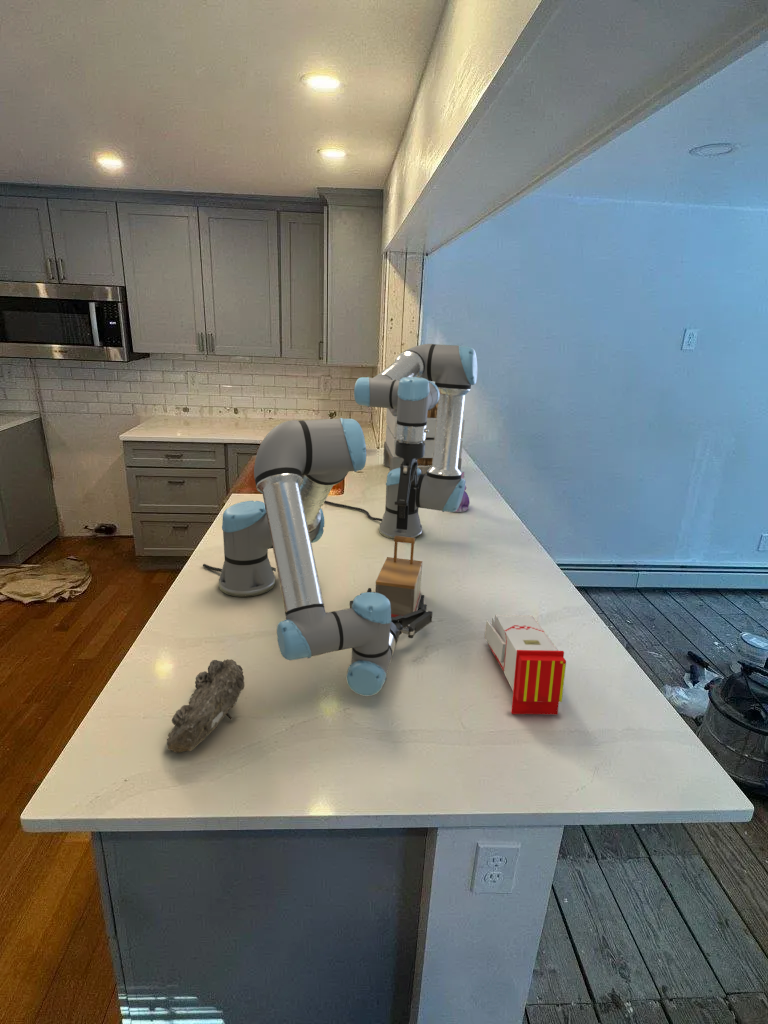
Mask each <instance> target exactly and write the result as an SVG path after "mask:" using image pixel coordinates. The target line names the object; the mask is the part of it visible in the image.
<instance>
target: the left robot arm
mask: <svg viewBox="0 0 768 1024" xmlns="http://www.w3.org/2000/svg"><path fill="white" fill-rule="evenodd" d="M366 462H367V445H366V438H365V434H364V431H363V429H362V426H361V424H360V423H359V422H358V421H357V420H356V419H354V418H343V417H339V418H325V419H324V418H323V419H303V420H298V419H292V420H286V421H283V422H280V423H278V424H277V425H276V426H274V427H273V428H272V429H271V430H269V431H268V433H267V434H266V435H265V436H264V438H263V439H262V441H261V443H260V444H259V447H258V449H257V452H256V455H255V460H254V466H253V476H254V477H253V478H254V481H255V482H254V483H255V488H256V491H257V492H259V493H261V494H262V497H263V498H262V499H263V501H262V500H261V501H260V500H245V501H241V502H236V503H234V504H232V505H230V506H229V507H227V508H226V509H224V512H223V513H222V523H221V524H222V525H221V529H222V538H223V539H222V540H223V556H224V562H223V563H222V567H221V568H219V567H215V566H212V565H208V564H206V563H203V564H202V567H203V568H206V569H208V570H210V571H215V572H220V575H219V578H218V588H219V589H220V591H221V592H222V593H224V594H225V595H228V596H232V597H236V598H237V597H239V598H249V597H250V598H251V597H254V596H260V595H263V594H265V593H267V592H269V591H271V590H273V588H274V587H275V585H276V576H275V573H274V572H277V576H278V582H279V583H278V584H279V588H280V592H281V598H282V603H283V609H284V615H285V619H284V620H281V621H279V622H278V623H277V625H276V635H277V645H278V648H279V652H280V654H281V656H282V658H283V659H285V660H286V661H295V660H301V659H306V658H307V659H311V658H312V657H316V656H320V655H326V654H329V653H333V652H338V651H339V652H340V651H343V650H349V649H351V661H350V664H349V666H348V667H347V673H346V682H347V686H348V687H349V688H350V690H351V691H353V692H354V693H355V694H357V695H360V696H364V697H370V696H374V695H376V694H378V693H379V692H380V691H381V690H382V688H383V687H384V684H385V682H386V681H387V676H388V671H389V668H390V665H391V662H392V659H393V656H394V653H395V650H396V647H397V645H398V641H399V638H400V636H401V635H402V634H404V635H407V637H408V638H409V639H413V638H414V636H415V635H416V634H417V633H418V632H420V631H421V630H422V629H424V628H425V627H426V626H428V625H429V624H431V623H432V621H433V611H432V610H428V609H427V608H428V605H427V603H425V594H420V597H419V601H418V604H417V609H416V610H415V611H414V612H412V613H409V614H406V615H404V616H401V615H399V616H396V617H391V605H390V601H389V600H388V598H386V597H385V596H384V595H382V594H379V593H375V591H372V590H373V589H372V587H368V588H367V591H366V592H361V593H360V594H358V595H356V596H354V598H353V600H349V608H343V609H338V610H334V611H333V610H332V611H328V612H326V607H325V602H324V598H323V593H322V588H321V583H320V578H319V574H318V569H317V564H316V559H315V554H314V549H313V545H312V544H313V543H317V542H318V541H320V540H321V538H322V537H323V534H324V530H325V529H324V528H325V516H324V515H325V514H324V511H323V508H322V507H323V505H324V504H325V503H324V502H325V501H327V498H328V496H329V494H330V492H331V491H332V489H333V487H334V486H335V485H338V484H339V483H341V482H342V481H344V480H345V478H346V477H347V475H348V474H349V473H350V472H354V473H357V472H359V471H362V470H363V469H364V468H365V466H366ZM270 549H272V550H273V555H274V561H275V567H274V566H272V565H271V562H270V560H269V554H268V553H269V552H268V550H270ZM427 610H428V611H427Z"/></svg>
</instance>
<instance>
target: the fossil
mask: <svg viewBox="0 0 768 1024" xmlns="http://www.w3.org/2000/svg"><path fill="white" fill-rule="evenodd" d="M243 670H244V669H243V667H242V665H240V664H237V662H236V661H235V660H234V659H232V658H231V659H227V658H226V659H224V660H223V661H222V660H217V659H212V660H211V661H210V663H209V665H208V666H207V671H201V672H199V673H198V674H197V675H196V676H195V680H194V684H195V685H194V687H195V689H194V690H193V693H192V694H191V697H190V698H189V700H188V704H184V705H182V706H181V707H180V709H177V710H176V711H175V713H174V715H173V716H172V718H171V723H172V724H173V727H172V730H171V731H170V732H168V734H167V738H166V741H167V742H166V745H167V749H168V750H169V751H173V752H174V753H176V754H178V753H182V752H188V751H189V752H192V751H193V750H195V748H196V747H197V746H199V744H200V743H201V742H203V741H204V740H205V739H206V738H207V737H208V736H209V735H210V734H211V733H212V732H214V730H215V729H217V727H218V726H219V724H220V722H221V721H222V720H223V719H224V718H225V716H226V717H227V719H229V720H233V717H232V715H230V714H229V710H230V709H231V708H234V706H235V704H236V703H237V702H238V699H239V697H240V695H241V693H242V691H243V690H245V689H244V688H245V675H244V671H243Z"/></svg>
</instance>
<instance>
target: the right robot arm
mask: <svg viewBox="0 0 768 1024" xmlns="http://www.w3.org/2000/svg"><path fill="white" fill-rule="evenodd" d="M477 357H478V356H477V353H476V350H475V348H474V347H471V346H466V345H461V344H459V345H455V344H440V343H439V344H438V343H437V344H436V343H435V344H434V343H423V344H419V345H415V346H412V347H410V348H407V349H406V350H403V351H402V352H400V353H399V354H397V356H396V357H395V360H394V362H392V363H391V364H390V365H389V366H387V367H386V368H384V369H383V370H382V371H381V372H379V373H378V374H376V375H375V376H374V377H369V376H366V377H359V378H357V380H356V381H355V384H354V388H353V389H354V390H353V391H354V392H353V396H354V397H353V398H354V401H355V403H356V404H357V405H359V406H363V407H364V406H365V407H368V408H370V407H371V408H382V409H387V408H392V409H397V423H396V439H397V441H396V445H395V454H396V456H398V457H401V458H403V459H404V461H402V464H401V466H400V468H396V469H393V470H391V471H390V470H389V472H388V473H387V475H386V482H385V504H384V505H385V507H384V508H385V509H384V513H383V515H382V518H380V517H373V516H371V515H370V513H369V511H367V510H366V509H365V508H361V507H358V506H357V507H356V506H352V505H348V504H342V503H338V502H337V503H336V502H332V501H328V500H325V502H324V503H323V504H328V505H332V506H336V507H341V508H345V509H350V510H354V511H360V512H362V513H364V514H366V516H367V518H368V519H370V520H372V521H378V522H379V526H378V533H379V534H380V535H381V536H382V537H385V538H387V539H389V540H394V536H403V537H412V538H415V539H418V538H420V537H421V536H422V535H423V525H422V524H421V518H420V515H419V509H425V510H433V511H439V512H440V511H441V513H444V512H447V513H456V512H455V511H456V510H457V509H458V508H459V505H460V503H461V500H462V497H463V493H464V489H465V485H466V479H465V478H464V479H463V478H462V479H461V473H462V471H461V472H460V470H459V469H458V458H459V449H460V439H461V440H462V438H461V430H462V420H463V419H464V409H465V401H466V395H467V394H468V393H469V392H470V391H471V389H472V386H474V385H476V384H477V381H478V359H477ZM437 402H438V406H437V417H436V428H435V439H434V449H433V460H432V465H430V466H429V468H427V469H426V474H425V473H422V469H421V468H419V466H418V463H417V459H420V458H422V457H424V455H425V442H423V441H424V440H425V439H426V433H428V432H429V430H428V429H425V428H426V425H427V413H428V410H430V409H432V408H434V406H435V405H436V404H437Z"/></svg>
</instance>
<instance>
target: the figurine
mask: <svg viewBox="0 0 768 1024" xmlns="http://www.w3.org/2000/svg"><path fill="white" fill-rule="evenodd" d="M462 478H463V479H464V480H465V472H464V471H462V472H461V479H462ZM466 490H467V485H466V484H465V489H464V493H463V497H462V500H461V503H460V505H459V508H458V509H457V510H456V511H455V512H454V513H463V512H464V513H465V512H466V511H467V510H469V505H470V497H469V495H468V493H467V491H466Z"/></svg>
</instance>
